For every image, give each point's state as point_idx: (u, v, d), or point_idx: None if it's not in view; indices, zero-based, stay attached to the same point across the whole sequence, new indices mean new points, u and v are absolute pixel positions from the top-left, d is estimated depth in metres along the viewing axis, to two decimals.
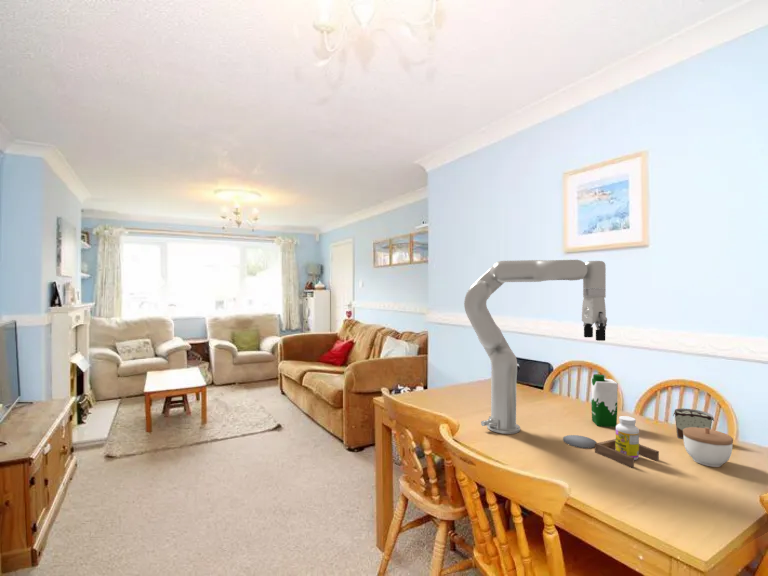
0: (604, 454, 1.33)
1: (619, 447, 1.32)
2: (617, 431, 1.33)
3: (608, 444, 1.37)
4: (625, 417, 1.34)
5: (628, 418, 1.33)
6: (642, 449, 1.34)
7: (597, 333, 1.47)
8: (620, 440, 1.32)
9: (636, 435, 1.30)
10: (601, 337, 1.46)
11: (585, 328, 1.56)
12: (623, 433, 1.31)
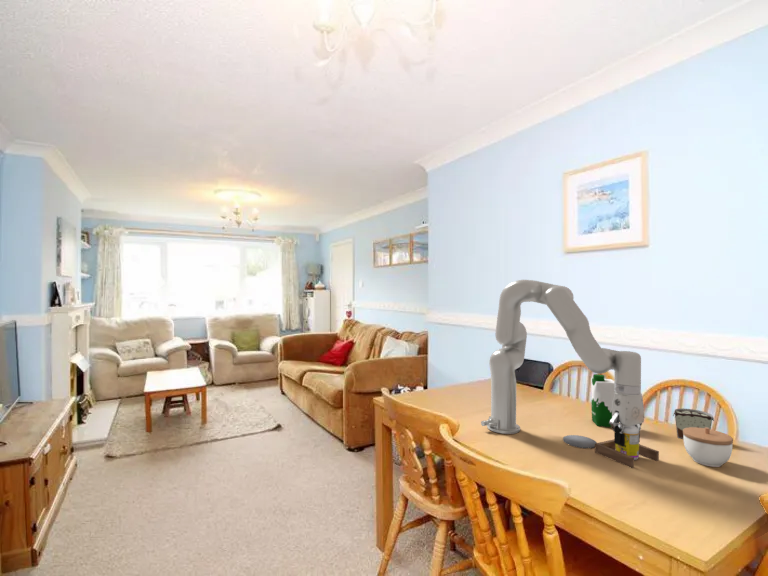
0: (604, 454, 1.33)
1: (619, 447, 1.32)
2: None
3: (608, 444, 1.37)
4: None
5: None
6: (642, 449, 1.34)
7: None
8: None
9: (636, 435, 1.30)
10: None
11: None
12: (623, 433, 1.31)
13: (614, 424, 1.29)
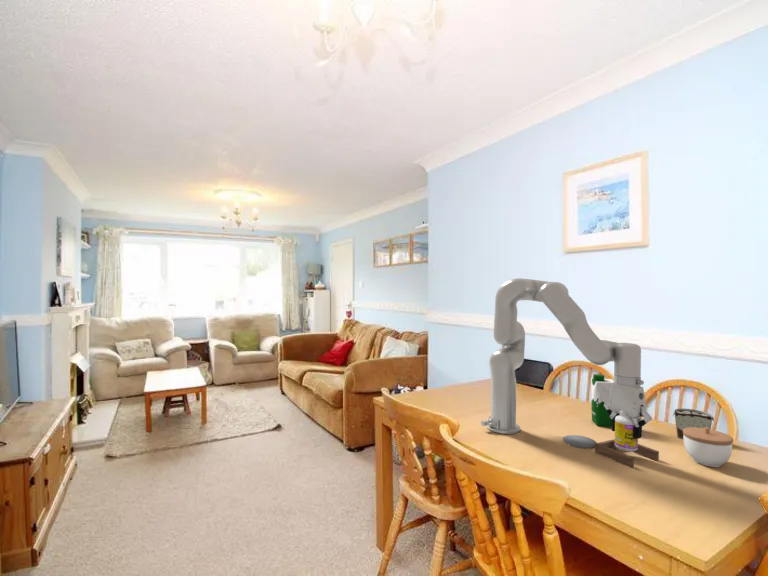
0: (604, 454, 1.33)
1: (635, 441, 1.30)
2: (633, 425, 1.30)
3: (608, 444, 1.37)
4: None
5: None
6: (642, 449, 1.34)
7: None
8: None
9: None
10: None
11: None
12: None
13: None
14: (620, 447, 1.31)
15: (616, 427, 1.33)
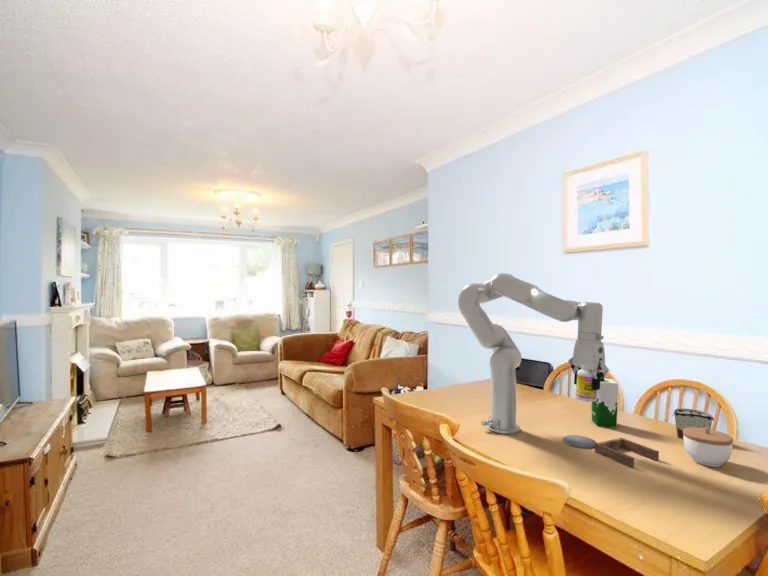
0: (604, 454, 1.33)
1: (593, 392, 1.40)
2: (593, 377, 1.40)
3: (608, 444, 1.37)
4: None
5: None
6: (642, 449, 1.34)
7: None
8: None
9: None
10: None
11: None
12: None
13: None
14: (580, 398, 1.41)
15: (577, 380, 1.43)
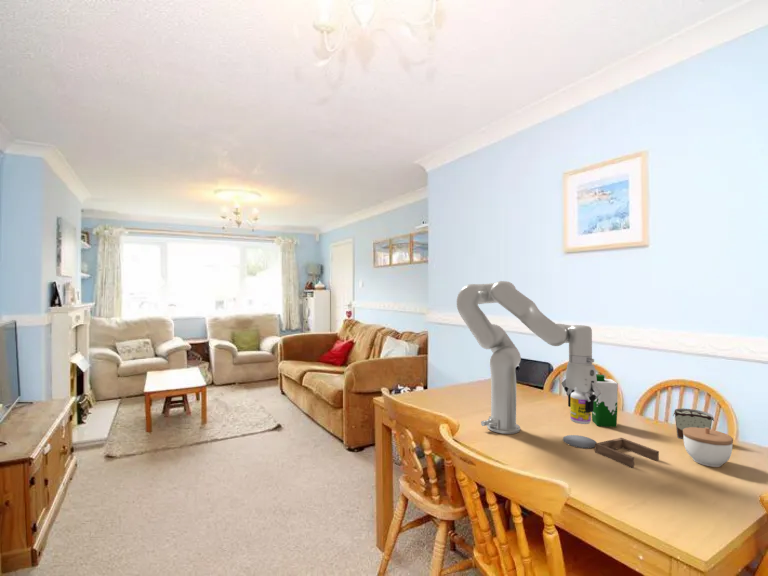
0: (604, 454, 1.33)
1: (587, 414, 1.42)
2: (586, 400, 1.42)
3: (608, 444, 1.37)
4: None
5: None
6: (642, 449, 1.34)
7: None
8: None
9: None
10: None
11: None
12: None
13: None
14: (574, 420, 1.43)
15: (571, 402, 1.45)
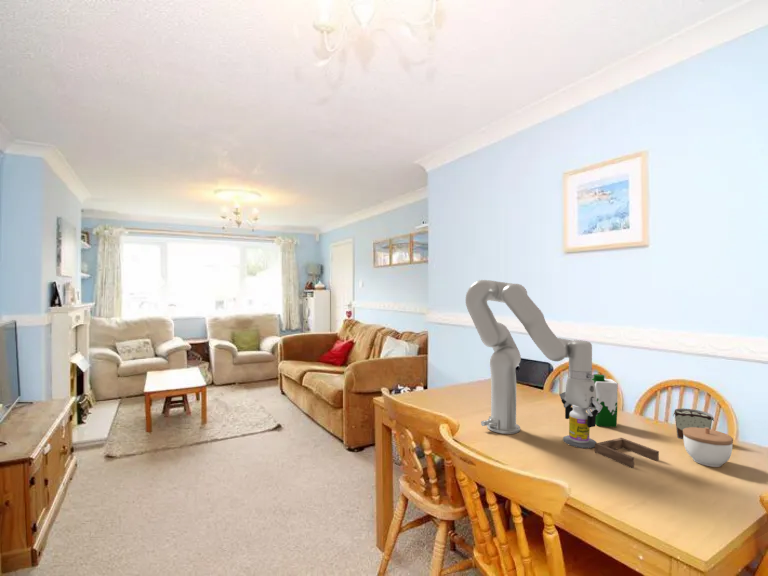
0: (604, 454, 1.33)
1: (586, 434, 1.42)
2: (584, 419, 1.42)
3: (608, 444, 1.37)
4: None
5: None
6: (642, 449, 1.34)
7: None
8: (587, 427, 1.42)
9: None
10: None
11: None
12: None
13: None
14: (573, 439, 1.43)
15: (570, 421, 1.45)
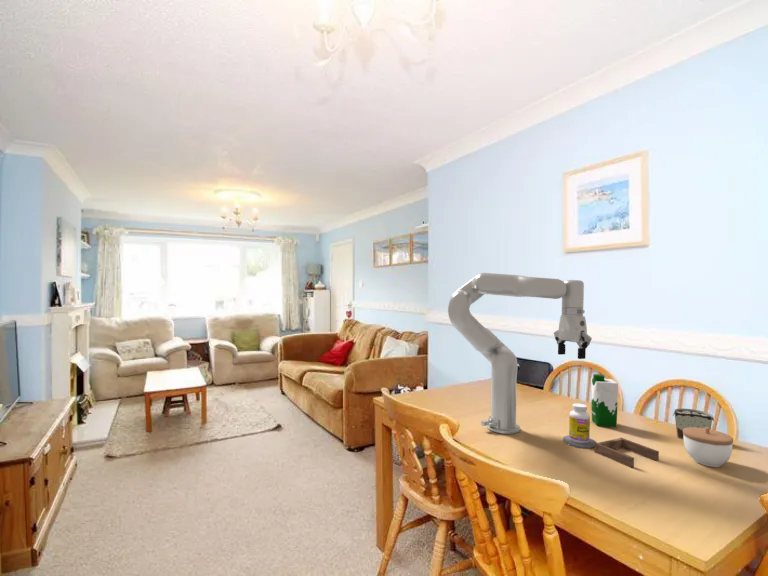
0: (604, 454, 1.33)
1: (586, 434, 1.42)
2: (585, 419, 1.42)
3: (608, 444, 1.37)
4: (577, 405, 1.45)
5: (580, 405, 1.45)
6: (642, 449, 1.34)
7: None
8: (587, 427, 1.42)
9: None
10: None
11: None
12: (588, 419, 1.43)
13: None
14: (573, 439, 1.43)
15: (570, 421, 1.45)
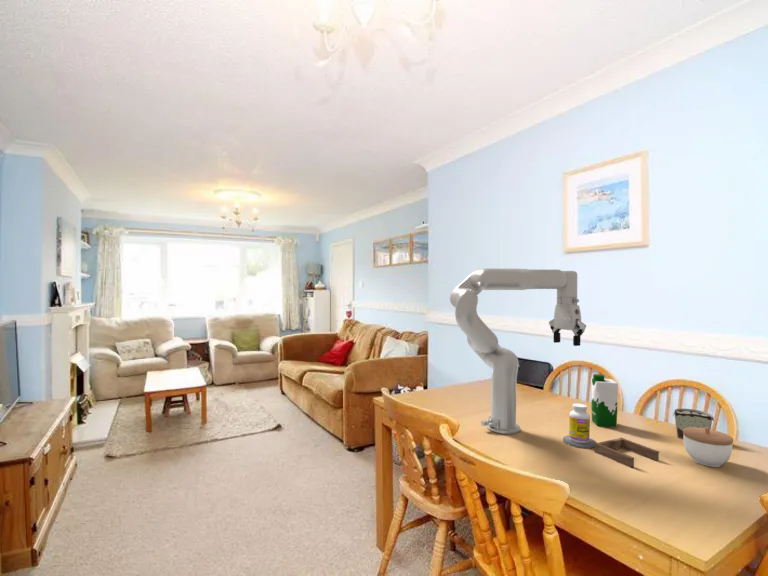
0: (604, 454, 1.33)
1: (586, 434, 1.42)
2: (585, 419, 1.42)
3: (608, 444, 1.37)
4: (577, 405, 1.45)
5: (580, 405, 1.45)
6: (642, 449, 1.34)
7: None
8: (587, 427, 1.42)
9: None
10: None
11: None
12: (588, 419, 1.43)
13: None
14: (573, 439, 1.43)
15: (570, 421, 1.45)
